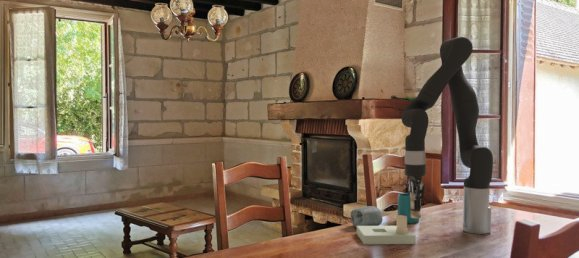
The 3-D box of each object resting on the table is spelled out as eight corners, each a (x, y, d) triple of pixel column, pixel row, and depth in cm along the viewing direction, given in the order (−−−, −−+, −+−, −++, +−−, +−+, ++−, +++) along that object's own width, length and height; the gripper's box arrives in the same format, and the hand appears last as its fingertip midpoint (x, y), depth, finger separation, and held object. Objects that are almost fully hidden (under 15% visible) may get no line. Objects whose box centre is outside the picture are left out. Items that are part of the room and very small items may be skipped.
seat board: (403, 233, 176) (404, 209, 176) (415, 243, 162) (415, 218, 162) (356, 233, 175) (356, 210, 175) (364, 244, 161) (364, 218, 161)
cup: (428, 220, 198) (428, 194, 197) (411, 224, 190) (411, 197, 190) (410, 216, 205) (410, 191, 204) (393, 220, 197) (393, 194, 197)
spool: (358, 223, 178) (358, 198, 182) (345, 229, 185) (345, 205, 190) (388, 229, 182) (387, 205, 187) (374, 235, 190) (373, 211, 195)
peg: (418, 216, 175) (418, 192, 174) (422, 218, 171) (421, 193, 171) (409, 216, 175) (409, 192, 174) (412, 218, 171) (412, 194, 171)
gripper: (431, 164, 165) (432, 212, 166) (419, 160, 179) (419, 204, 180) (411, 165, 165) (411, 213, 165) (399, 160, 179) (400, 205, 180)
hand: (415, 208), depth 173 cm, fingers closed on peg, 3 cm apart
